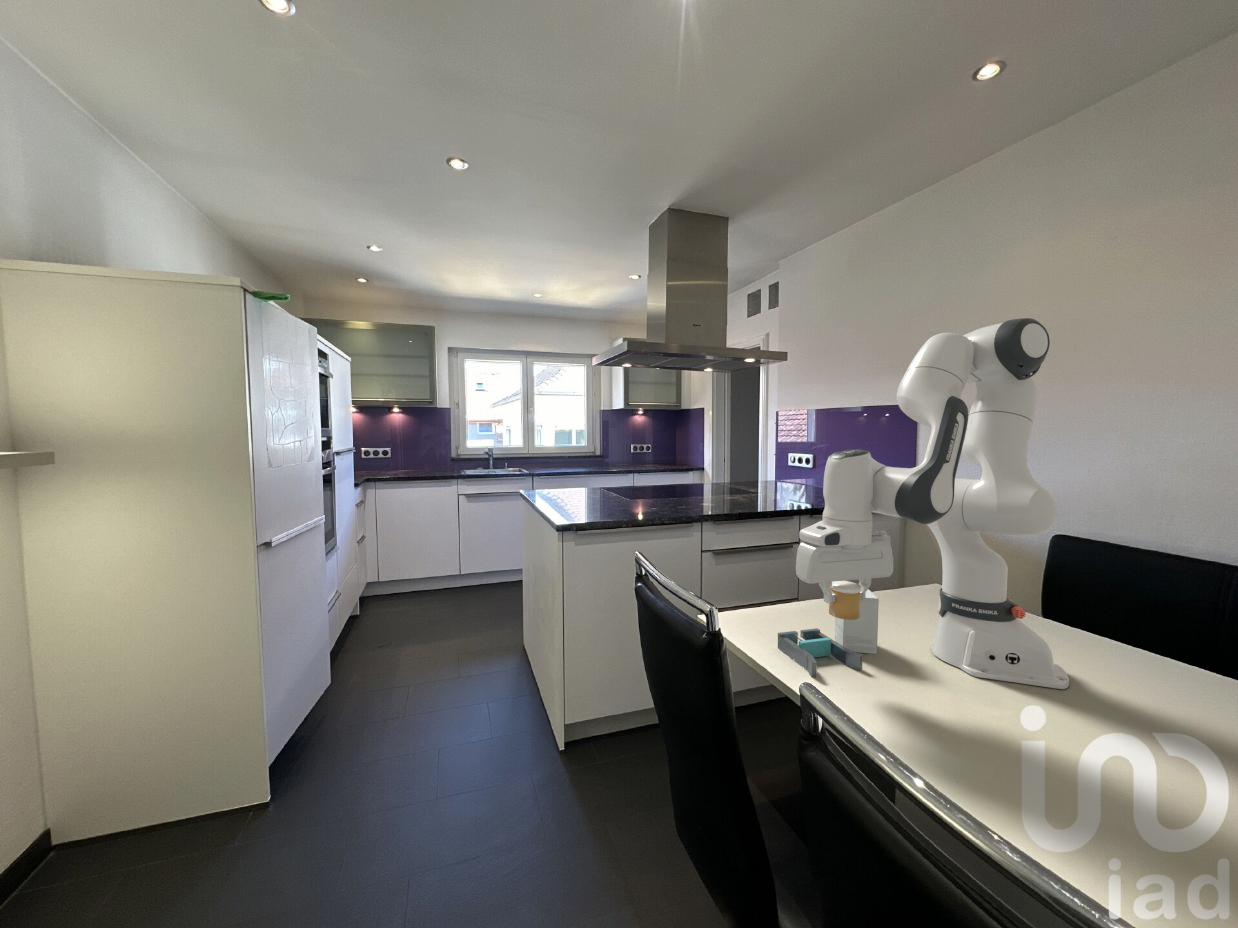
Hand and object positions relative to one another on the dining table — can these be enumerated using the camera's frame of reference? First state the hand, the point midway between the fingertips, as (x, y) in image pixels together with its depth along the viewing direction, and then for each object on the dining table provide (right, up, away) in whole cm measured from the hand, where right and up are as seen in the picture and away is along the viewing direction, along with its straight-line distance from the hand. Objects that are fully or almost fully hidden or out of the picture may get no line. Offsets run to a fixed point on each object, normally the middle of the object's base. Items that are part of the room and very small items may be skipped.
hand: (844, 601), depth 92 cm
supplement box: (+10, -15, +15) cm, 23 cm away
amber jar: (0, -3, 0) cm, 3 cm away
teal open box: (-3, -14, +12) cm, 19 cm away
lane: (-2, -15, +8) cm, 17 cm away
